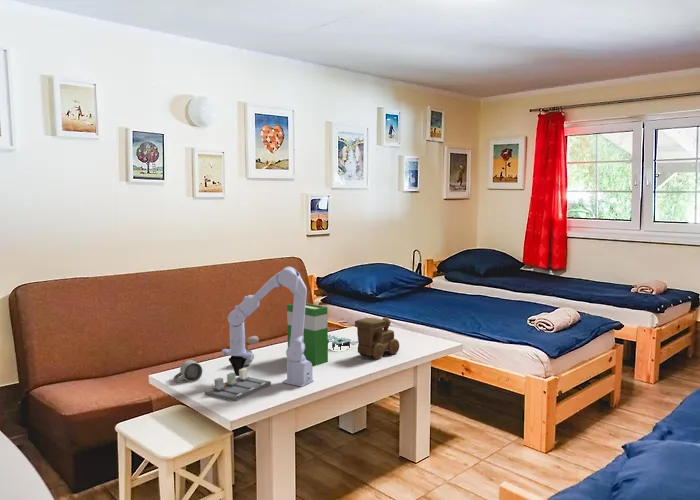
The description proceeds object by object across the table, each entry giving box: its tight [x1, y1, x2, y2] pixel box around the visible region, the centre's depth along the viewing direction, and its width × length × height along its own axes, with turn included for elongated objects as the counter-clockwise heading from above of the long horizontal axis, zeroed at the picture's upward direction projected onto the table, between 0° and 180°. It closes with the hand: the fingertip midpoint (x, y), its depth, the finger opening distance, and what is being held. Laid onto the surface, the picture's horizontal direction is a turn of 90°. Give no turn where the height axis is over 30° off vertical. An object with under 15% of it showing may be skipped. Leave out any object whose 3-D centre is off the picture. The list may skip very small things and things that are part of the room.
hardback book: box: [286, 302, 329, 367], centre depth 241 cm, size 18×7×24 cm, turn 47°
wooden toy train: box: [354, 317, 400, 360], centre depth 248 cm, size 20×11×17 cm, turn 135°
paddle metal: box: [211, 377, 226, 391], centre depth 201 cm, size 4×3×4 cm
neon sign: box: [328, 334, 359, 352], centre depth 270 cm, size 21×4×29 cm
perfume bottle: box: [243, 335, 260, 367], centre depth 236 cm, size 8×10×12 cm
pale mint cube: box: [224, 372, 238, 386], centre depth 206 cm, size 4×3×4 cm
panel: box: [204, 376, 272, 402], centre depth 205 cm, size 14×20×2 cm
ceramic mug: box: [173, 359, 203, 383], centre depth 216 cm, size 10×8×7 cm
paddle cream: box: [236, 367, 250, 381], centre depth 212 cm, size 4×3×4 cm
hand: (238, 375), depth 213 cm, fingers closed
